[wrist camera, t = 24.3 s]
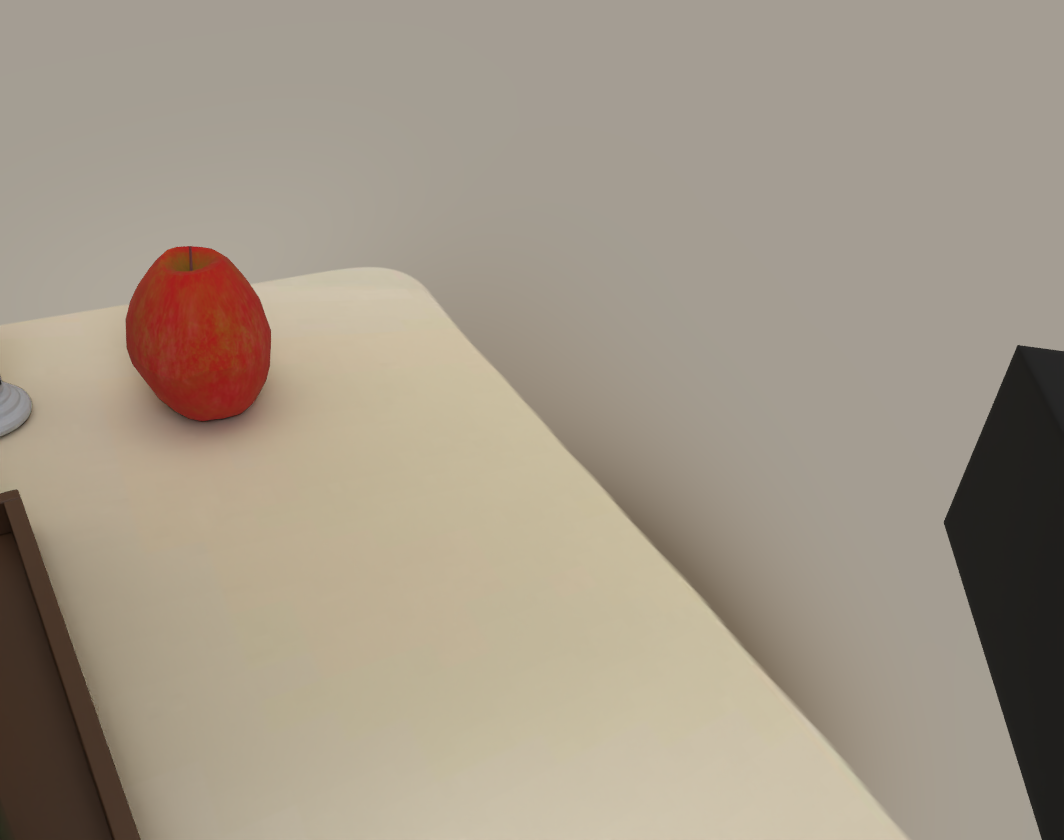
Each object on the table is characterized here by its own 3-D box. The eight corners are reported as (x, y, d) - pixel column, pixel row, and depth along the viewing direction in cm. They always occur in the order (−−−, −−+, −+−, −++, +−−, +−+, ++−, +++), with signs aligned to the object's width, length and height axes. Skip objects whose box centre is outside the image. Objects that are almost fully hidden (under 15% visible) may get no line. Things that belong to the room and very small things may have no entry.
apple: (108, 411, 61) (76, 249, 55) (207, 353, 67) (189, 202, 61) (210, 460, 58) (189, 294, 52) (304, 395, 64) (296, 240, 58)
